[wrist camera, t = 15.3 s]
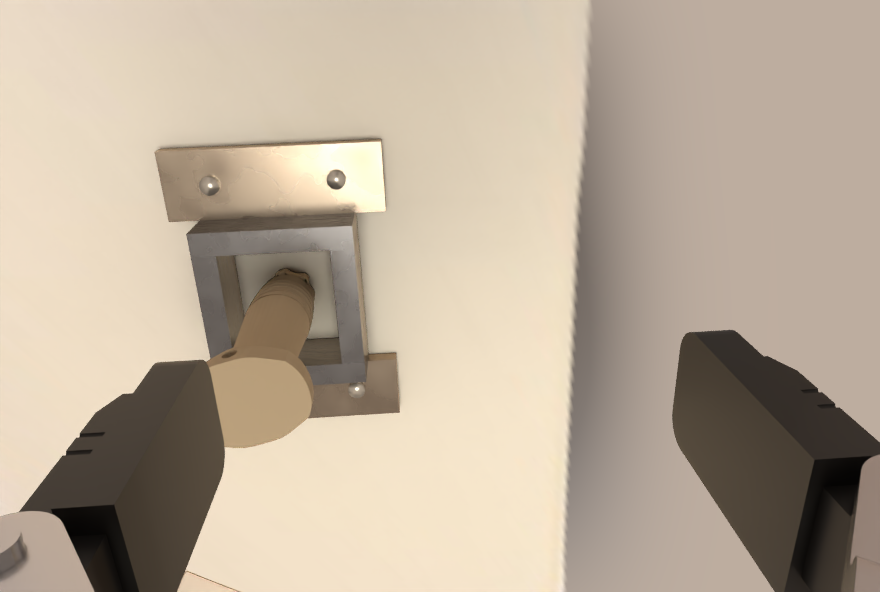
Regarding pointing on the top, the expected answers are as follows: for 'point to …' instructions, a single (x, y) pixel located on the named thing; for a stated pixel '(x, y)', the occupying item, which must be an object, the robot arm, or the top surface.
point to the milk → (200, 585)
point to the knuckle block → (286, 247)
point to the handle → (267, 365)
